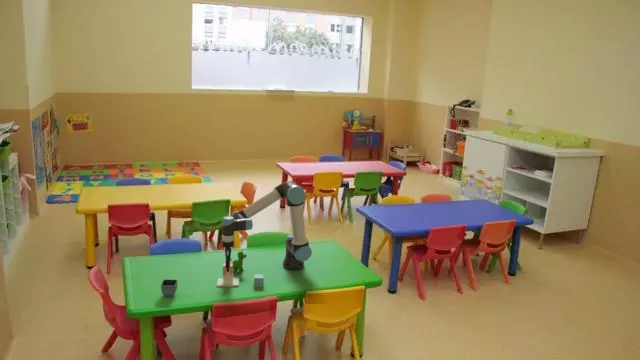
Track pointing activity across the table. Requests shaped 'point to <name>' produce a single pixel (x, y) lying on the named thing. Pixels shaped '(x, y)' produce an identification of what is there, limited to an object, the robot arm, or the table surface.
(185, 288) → the table surface
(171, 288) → the flower pot
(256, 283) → the brick teal
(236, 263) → the toy
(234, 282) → the plate
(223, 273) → the brick coral
